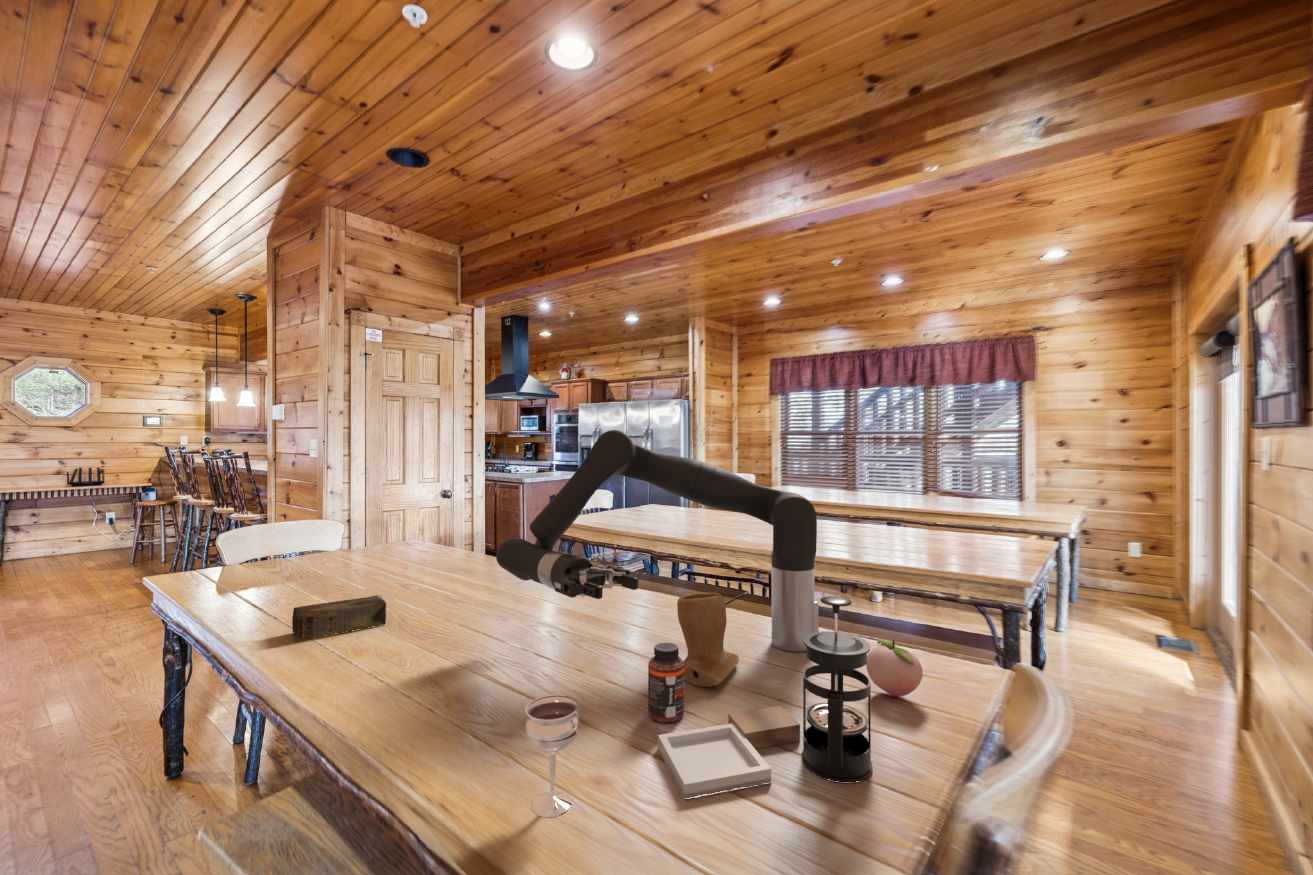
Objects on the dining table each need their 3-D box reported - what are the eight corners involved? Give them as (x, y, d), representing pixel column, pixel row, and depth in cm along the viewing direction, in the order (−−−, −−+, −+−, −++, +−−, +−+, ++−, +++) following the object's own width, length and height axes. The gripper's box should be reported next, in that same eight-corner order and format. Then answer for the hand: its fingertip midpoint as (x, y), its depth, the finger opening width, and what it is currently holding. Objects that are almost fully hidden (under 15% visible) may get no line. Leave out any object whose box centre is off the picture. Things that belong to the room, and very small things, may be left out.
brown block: (780, 721, 88) (780, 705, 88) (800, 741, 82) (799, 724, 82) (728, 729, 85) (728, 713, 85) (744, 750, 80) (744, 733, 80)
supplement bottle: (681, 726, 86) (681, 654, 86) (644, 722, 88) (644, 651, 88) (686, 708, 92) (686, 641, 92) (652, 705, 93) (652, 638, 94)
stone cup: (691, 653, 116) (691, 582, 116) (745, 663, 111) (745, 589, 111) (659, 681, 103) (659, 601, 103) (718, 694, 97) (718, 610, 97)
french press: (804, 737, 83) (804, 585, 83) (871, 748, 80) (870, 591, 80) (797, 782, 72) (797, 608, 72) (874, 798, 69) (873, 615, 69)
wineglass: (513, 814, 66) (513, 714, 66) (543, 781, 72) (543, 690, 73) (562, 828, 64) (562, 725, 64) (589, 793, 70) (589, 699, 70)
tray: (733, 736, 84) (733, 723, 84) (771, 783, 72) (771, 768, 72) (658, 748, 80) (658, 734, 80) (684, 800, 69) (684, 784, 69)
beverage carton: (387, 626, 134) (387, 599, 134) (294, 644, 122) (294, 614, 123) (380, 617, 141) (380, 592, 141) (290, 634, 129) (290, 606, 129)
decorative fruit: (854, 690, 99) (854, 634, 99) (888, 682, 102) (888, 628, 102) (896, 714, 90) (896, 653, 90) (932, 704, 93) (931, 645, 94)
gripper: (534, 558, 104) (588, 573, 93) (593, 548, 114) (648, 561, 103) (534, 598, 104) (587, 618, 93) (592, 584, 114) (647, 601, 103)
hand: (619, 588), depth 98 cm, fingers open, 8 cm apart
